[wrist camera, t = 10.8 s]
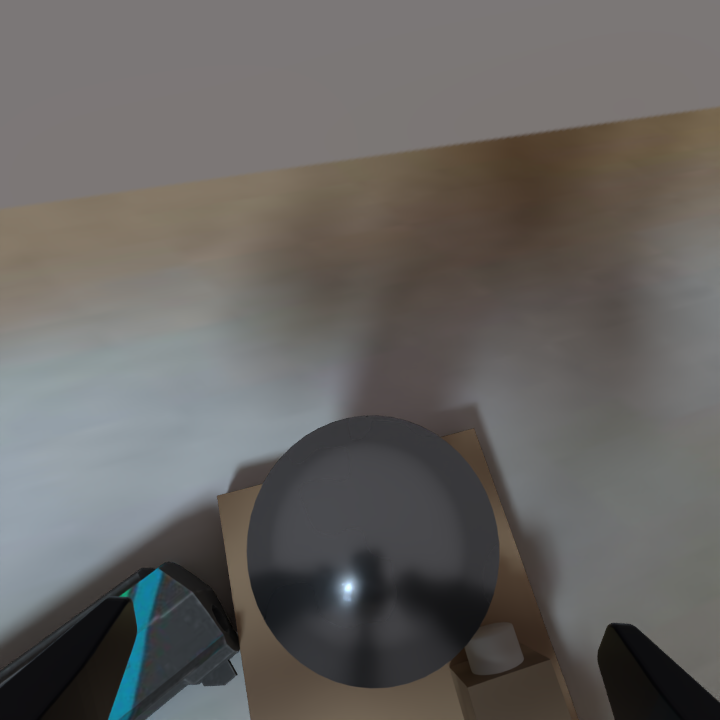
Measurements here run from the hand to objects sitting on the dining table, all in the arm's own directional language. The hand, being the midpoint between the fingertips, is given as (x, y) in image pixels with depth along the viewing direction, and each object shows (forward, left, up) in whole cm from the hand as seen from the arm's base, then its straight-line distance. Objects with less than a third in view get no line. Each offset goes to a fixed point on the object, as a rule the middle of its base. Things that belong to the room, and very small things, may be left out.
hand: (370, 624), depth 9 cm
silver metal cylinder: (+1, 0, -9) cm, 9 cm away
